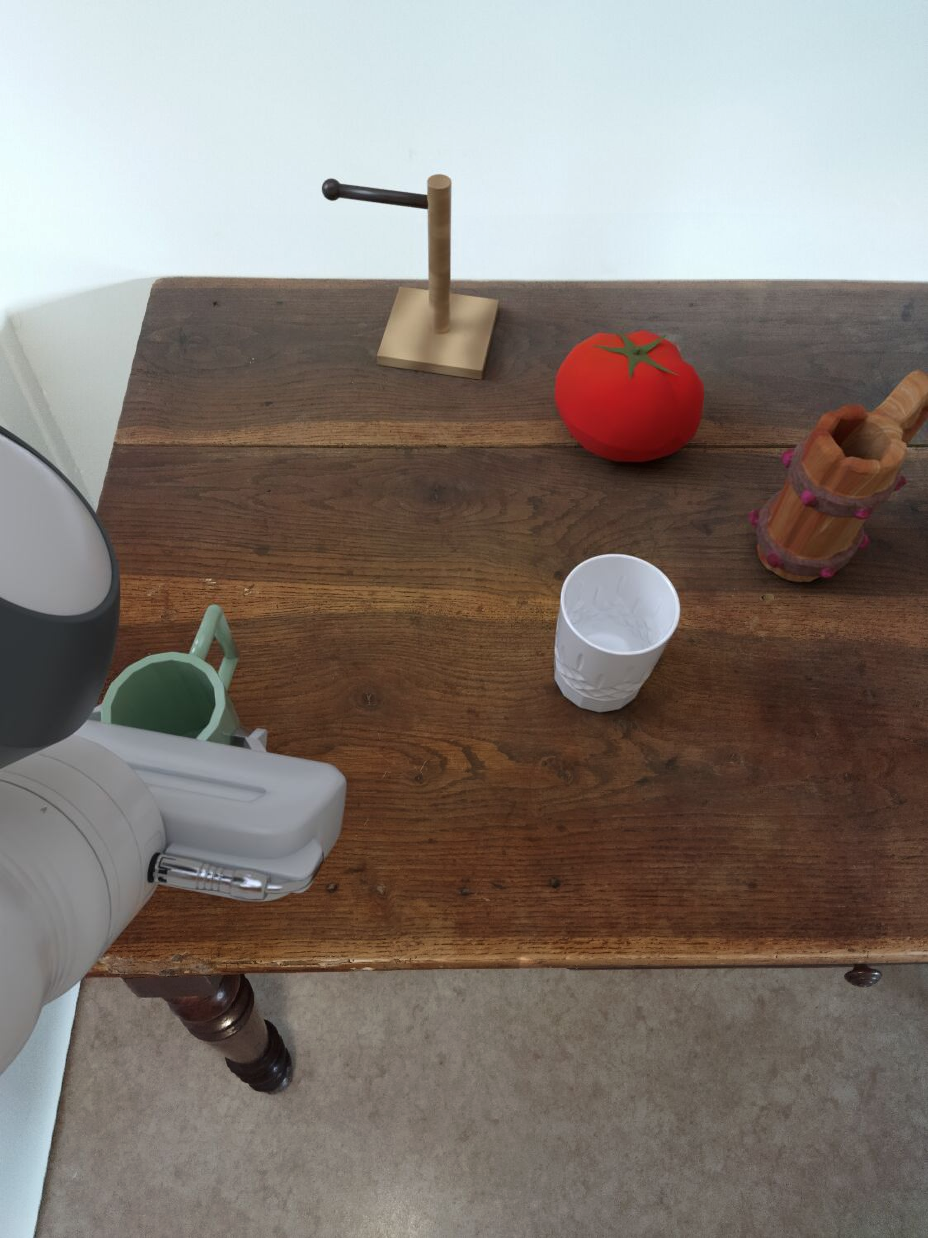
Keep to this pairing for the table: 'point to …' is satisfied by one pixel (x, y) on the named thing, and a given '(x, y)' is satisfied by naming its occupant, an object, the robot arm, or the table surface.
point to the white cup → (612, 629)
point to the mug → (838, 484)
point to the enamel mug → (180, 689)
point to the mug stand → (430, 294)
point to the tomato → (629, 396)
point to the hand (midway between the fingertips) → (186, 727)
